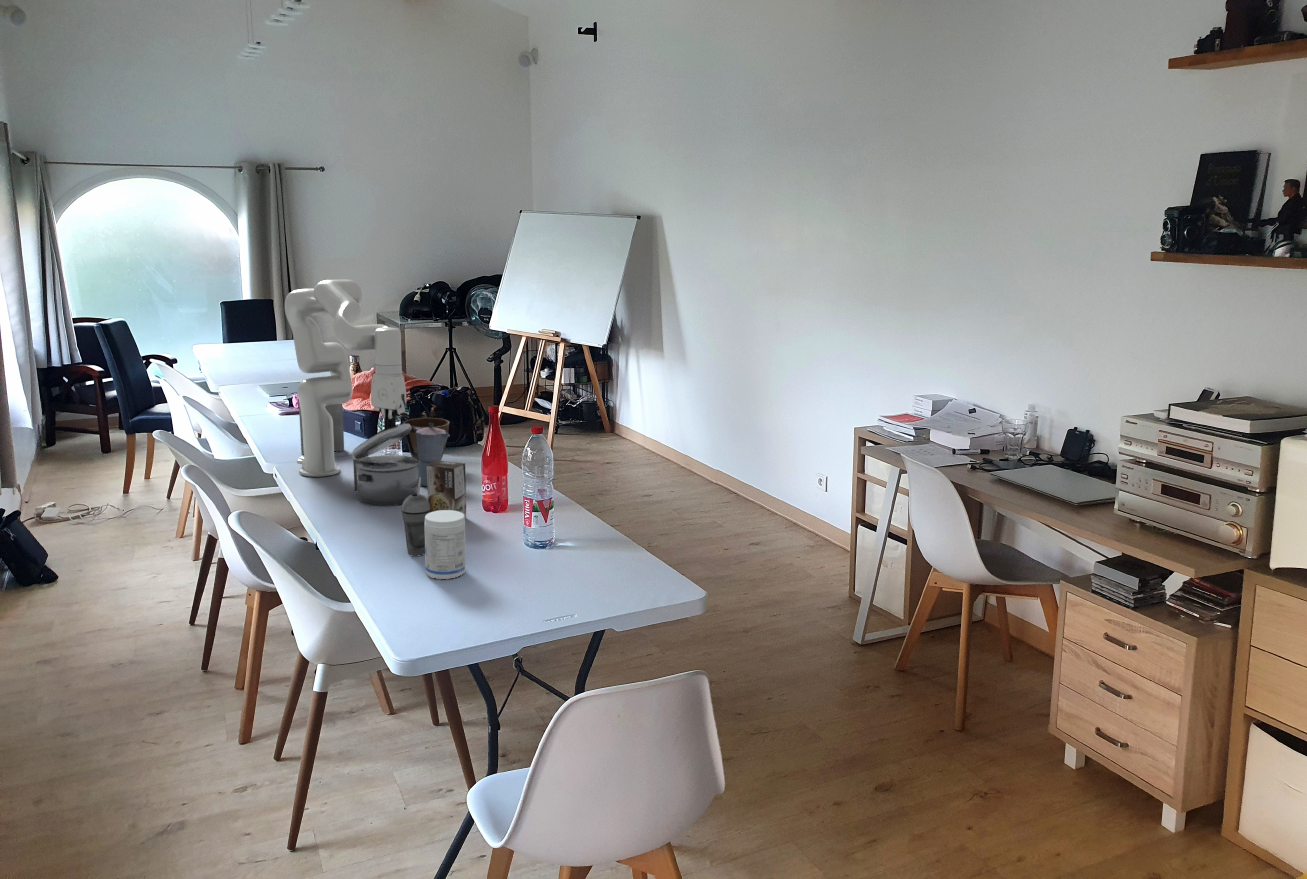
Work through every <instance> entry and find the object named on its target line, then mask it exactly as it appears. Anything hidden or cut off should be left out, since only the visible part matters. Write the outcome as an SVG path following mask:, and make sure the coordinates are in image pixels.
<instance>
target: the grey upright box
mask: <svg viewBox="0 0 1307 879" xmlns="http://www.w3.org/2000/svg"><path fill="white" fill-rule="evenodd" d="M325 408H326V410H327V411H328V412H329V414H330V415H331V417H332V420H333V435H334V451H340V452H343V451H345V437H344V435H345V434H344V433H345V432H344V416H343V415H344V411H343V403H342V404H335V405H329V406H325ZM298 412H299V413H298V414H299V415H298V416H299V429H300V430H299V432H300V450H301V452H300V453H301V454H302V455H303V454H304V447H303V428H302V415H301V408H300V404H299V405H298ZM342 450H343V451H342Z"/></svg>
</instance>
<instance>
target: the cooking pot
mask: <svg viewBox="0 0 1307 879" xmlns="http://www.w3.org/2000/svg"><path fill="white" fill-rule="evenodd" d="M352 460H353V483H354V492H357V494H356V495H357V501H358V503H361V504H362V505H367V506H373V507H391V506H392V507H393V506H394V507H395V506H402V505H403V502H404V500H405V499H406V498H407V497H408V496H410V495H412V494H417V493H418V484H419V476H418V464H419V461H418V460H417V459H416V458H413V457H412V456H408V455H401V454H400V455H398V454H387V455H385V454H383V455H373V456H366V457H363V458H359V459H356V458H353V459H352Z"/></svg>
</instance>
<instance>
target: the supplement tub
mask: <svg viewBox="0 0 1307 879" xmlns="http://www.w3.org/2000/svg"><path fill="white" fill-rule="evenodd" d="M424 559H425V560H424V563H425V565H424V566H425V570H424V571H425V574H426V575H427V576H428V577H429V578H432V579H434V578H436V579H435V580H441V579H446V580H450V579H449V578H454V579H456V578H455V577H457V578H459V577H458V576H460V575H461V576H463V575H464V574H465V573H466V518H465V517H464V514H463V513H461V512H459V511H453V510H439V511H434V512H430V513H428V514H427V515H426V516H425V555H424ZM463 573H464V574H463ZM462 574H463V575H462ZM461 576H460V577H461Z"/></svg>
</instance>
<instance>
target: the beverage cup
mask: <svg viewBox="0 0 1307 879" xmlns="http://www.w3.org/2000/svg"><path fill="white" fill-rule="evenodd" d="M420 484H421V477H419V484H418V493H417V494H412V495H410V496H408V497H407V498H406V499H405V500H404V502H403V504H402V505H401V510H400V511H401V514H402V519H403V525H404V533H405V539H406V540H405V541H406V548H407V554H409V555H408V556H410V555H412V556H411V557H419V556H418V555H422V556H424V555H423V554H425V516H426V515H427V514H428V513H430V511H431V508H430V504H429V502H428V498H426V496H424V495H423V494H420V492H421V485H420Z"/></svg>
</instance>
